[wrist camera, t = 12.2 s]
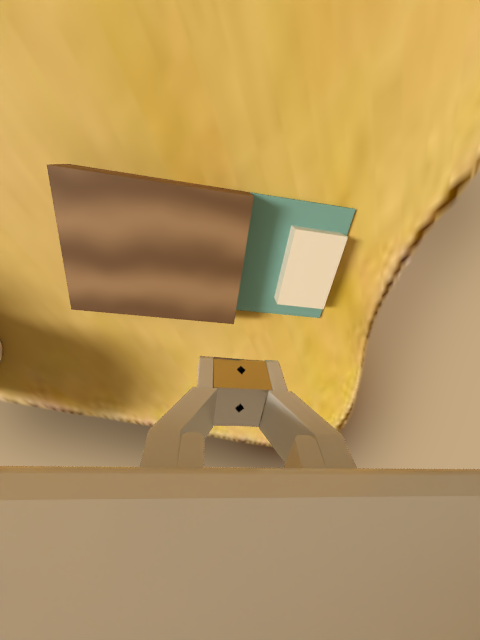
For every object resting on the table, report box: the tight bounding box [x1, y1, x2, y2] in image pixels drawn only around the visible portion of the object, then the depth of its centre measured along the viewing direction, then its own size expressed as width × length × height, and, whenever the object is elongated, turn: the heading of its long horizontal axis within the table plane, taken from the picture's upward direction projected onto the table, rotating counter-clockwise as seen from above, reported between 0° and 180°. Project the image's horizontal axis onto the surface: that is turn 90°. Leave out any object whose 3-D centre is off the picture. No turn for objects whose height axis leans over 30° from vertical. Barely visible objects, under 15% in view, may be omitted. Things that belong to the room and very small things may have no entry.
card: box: [274, 225, 348, 309], centre depth 33 cm, size 9×6×2 cm, turn 171°
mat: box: [236, 193, 356, 318], centre depth 34 cm, size 14×12×1 cm
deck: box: [47, 164, 254, 324], centre depth 30 cm, size 14×18×4 cm
